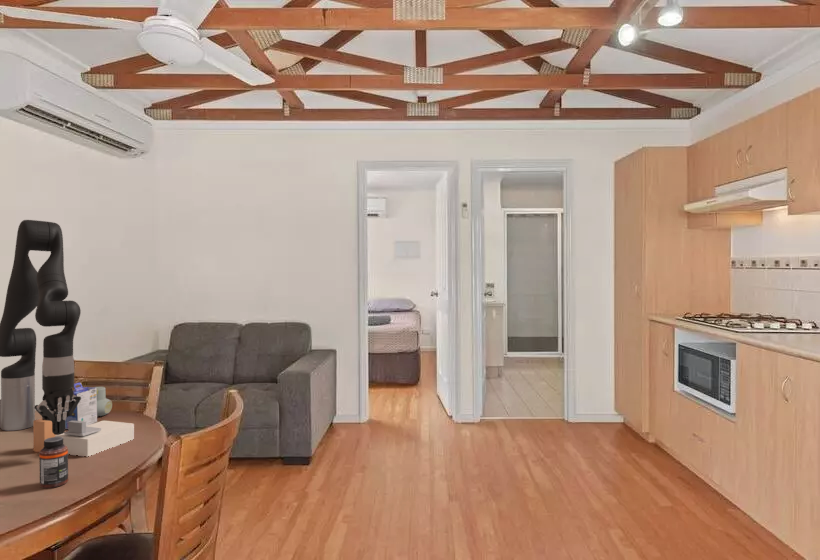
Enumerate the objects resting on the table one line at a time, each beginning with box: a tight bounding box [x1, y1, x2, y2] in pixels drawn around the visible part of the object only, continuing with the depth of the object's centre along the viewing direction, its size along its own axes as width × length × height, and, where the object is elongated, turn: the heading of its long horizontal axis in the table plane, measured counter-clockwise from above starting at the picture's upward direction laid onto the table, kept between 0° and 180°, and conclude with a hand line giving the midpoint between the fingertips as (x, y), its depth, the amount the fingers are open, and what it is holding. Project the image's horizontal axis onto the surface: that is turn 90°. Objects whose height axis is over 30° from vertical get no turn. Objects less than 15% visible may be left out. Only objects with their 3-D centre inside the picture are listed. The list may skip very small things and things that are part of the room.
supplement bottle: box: [38, 437, 69, 489], centre depth 134 cm, size 6×6×11 cm
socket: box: [55, 420, 135, 458], centre depth 164 cm, size 12×17×5 cm
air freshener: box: [94, 386, 113, 418], centre depth 199 cm, size 11×8×10 cm
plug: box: [32, 416, 55, 453], centre depth 160 cm, size 4×4×11 cm
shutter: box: [64, 420, 101, 436], centre depth 160 cm, size 7×6×4 cm
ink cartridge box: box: [65, 382, 98, 430], centre depth 186 cm, size 10×6×14 cm, turn 174°
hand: (58, 433), depth 152 cm, fingers closed
